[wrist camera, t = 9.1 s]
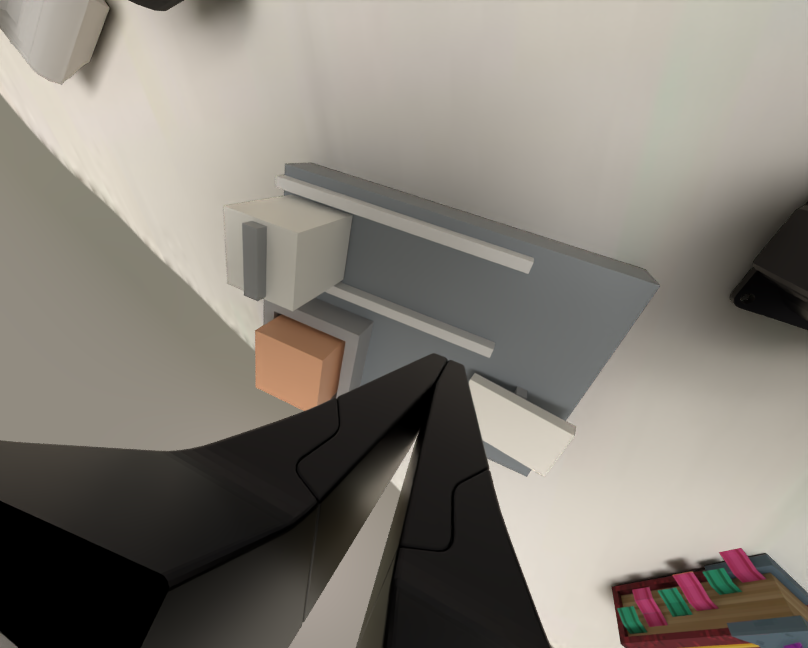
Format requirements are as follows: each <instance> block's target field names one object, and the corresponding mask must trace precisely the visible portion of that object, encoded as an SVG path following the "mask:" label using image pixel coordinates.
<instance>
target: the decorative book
mask: <svg viewBox="0 0 808 648" xmlns="http://www.w3.org/2000/svg"><path fill="white" fill-rule="evenodd" d="M719 553H720V555H721V556H722V558H723V559H724V560H725V562H722V563H717V564H712V565H707V566H704V567H705V569H706V570H701V571H696V572H692V571H691V572H685V573H680V574H674V575H673V576H668V577H663V578H657V579H652V580H646V581H641V582H635V583H630V584H624V585H618V586H613V587H612V592H613V598H614V604H615V611H616V617H617V623H618V629H619V636H620V642H621V644H622V645H623V646H624V647H625V648H808V593H807V592H806V591H805V590H804V589H803V588H802V587H801V586H800V585H799V584H798V583H797V582H796V581H795V580H793V579H792V578H791V577H790V576H789V575H788V574H787V573H786V572H785V571H784V570H783V569H782V568H781V567H780V566H779V565H778V564H777V563H776V562H775V561H774V560H772V559H771V558H770V557H769V556H768V555H767V554H762V555H757V556H752V557H748V556H747V555H746V554H745V552H744V551H743V550H742V548H738V549H734V550H729V551H724V552H719Z"/></svg>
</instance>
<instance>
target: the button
mask: <svg viewBox="0 0 808 648" xmlns="http://www.w3.org/2000/svg"><path fill="white" fill-rule="evenodd" d="M345 343H346V342H345V341H343V340H341V339H338V338H336V337H334V336H331V335H329V334H327V333H324V332H322V331H320V330H317V329H315V328H313V327H310V326H308V325H306V324H303V323H301V322H299V321H297V320H294V319H292V318H290V317H287V316H285V315H283V314H281V315H280V316H278V317H276V318H275V319H273V320H271V321H270V322H268V323H267V324H265V325H263V326H262V327H260V328H258V329H257V330H255V354H256V388H258V389H260V390H262V391H264V392H266V393H268V394H270V395H273V396H275V397H277V398H279V399H281V400H283V401H285V402H287V403H289V404H291V405H293V406H295V407H297V408H299V409H301V410H303V411H306V410H308V409H310V408H313V407H315V406H318V405H320V404H322V403H324V402H327V401H329V400H330V399H331V398H332V397H333V396H334V395H335V393H336V392H337V391H338V385H339V379H340V373H341V367H342V361H343V355H344V349H345Z"/></svg>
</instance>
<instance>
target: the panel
mask: <svg viewBox="0 0 808 648" xmlns="http://www.w3.org/2000/svg"><path fill="white" fill-rule="evenodd" d="M275 187H277V188H279V189H282V190H284V196H286V195H295V196H298V197H301V198H304V199H307V200H310V201H312V202H315V203H318V204H321V205H324V206H327V207H330V208H333V209H336V210H339V211H341V212H344V213H347V214H350V215H353V217H352V224H351V230H350V237H349V244H348V251H347V258H346V265H345V272H344V279H343V280H342V281H340V282H339V283H337V284H336V285H334V286H332V287H331V288H329V289H328V290H326V291H324V292H323V293H321V294H320V295H318V296H317V297H315V298H313V299H312V300H310V301H309V302H307V303H306V304H304V305H302V306H301V307H299V308H298V309H296V310H294V311H291V310H288V309H286V308H284V307H281V306H279V305H276V304H274V303H272V302H269V301H267V300H265V299H264V325H265V324H267V323H268V322H270V321H271V320H273V319H275V318H276V317H278V316H280V315H281V314H283V315H285V316H287V317H290V318H292V319H294V320H297V321H299V322H301V323H303V324H306V325H308V326H310V327H313V328H315V329H317V330H320V331H322V332H324V333H327V334H329V335H331V336H334V337H336V338H338V339H341V340H343V341H345V342H346V343H345V349H344V355H343V361H342V367H341V373H340V379H339V385H338V391H337V392H336V393H335V395H334V396H333V397H332V398H331V399H333V398H337V397H338V396H340V395H342V394H344V393H347V392H349V391H351V390H353V389H355V388H357V387H360V386H362V385H364V384H366V383H368V382H371V381H373V380H375V379H377V378H379V377H381V376H384V375H386V374H388V373H390V372H392V371H394V370H397V369H399V368H401V367H403V366H405V365H408V364H410V363H412V362H414V361H416V360H418V359H421V358H423V357H425V356H427V355H429V354H432V353H436V354H438V355H441V356H443V357H446V358H447V359H448V361H449V360H453V361H455V362H458V363H460V364H463V365H464V367H465V370H466V374H467V379H468V383H469V381H470V379H471V377H472V376H473V375H474V373H476V374H478V375H480V376H482V377H484V378H486V379H487V380H489V381H491V382H493V383H495V384H497V385H499V386H501V387H502V388H504V389H506V390H508V391H510V392H512V393H514V394H516V395H517V396H519V397H521V398H523V399H525V400H527V401H529V402H531V403H532V404H534V405H536V406H538V407H540V408H542V409H544V410H546V411H548V412H549V413H551V414H553V415H555V416H557V417H559V418H561V419H563V420H564V421H566V420H567V418H568V417H569V416H570V414H571V413H572V411H573V410H574V408H575V407H576V406H577V404H578V403H579V401H580V400H581V398H582V397H583V396H584V394H585V393H586V391H587V390H588V388H589V387H590V386H591V384H592V383H593V381H594V380H595V378H596V377H597V376H598V374H599V373H600V371H601V370H602V368H603V367H604V366H605V364H606V363H607V361H608V360H609V358H610V357H611V356H612V354H613V353H614V351H615V350H616V348H617V347H618V346H619V344H620V343H621V341H622V340H623V338H624V337H625V336H626V334H627V333H628V331H629V330H630V328H631V327H632V326H633V324H634V323H635V321H636V320H637V318H638V317H639V316H640V314H641V313H642V311H643V310H644V308H645V307H646V306H647V304H648V303H649V301H650V300H651V298H652V297H653V296H654V294H655V293H656V291H657V290H658V288H659V287H660V285H659V284H658V283H657V281H656V280H655V279H654V278H653V277H652V276H651V275H650V274H649V272H648V271H647V270H646V269H643V268H639V267H636V266H633V265H630V264H627V263H624V262H621V261H617V260H614V259H611V258H608V257H605V256H602V255H599V254H596V253H592V252H589V251H586V250H583V249H580V248H577V247H574V246H570V245H567V244H564V243H561V242H558V241H555V240H552V239H549V238H545V237H542V236H539V235H536V234H533V233H530V232H527V231H523V230H520V229H517V228H514V227H511V226H508V225H505V224H501V223H498V222H495V221H492V220H489V219H486V218H483V217H480V216H476V215H473V214H470V213H467V212H464V211H461V210H458V209H454V208H451V207H448V206H445V205H442V204H439V203H436V202H433V201H429V200H426V199H423V198H420V197H417V196H414V195H411V194H407V193H404V192H401V191H398V190H395V189H392V188H389V187H385V186H382V185H379V184H376V183H373V182H370V181H367V180H364V179H360V178H357V177H354V176H351V175H348V174H345V173H342V172H338V171H335V170H332V169H329V168H326V167H323V166H320V165H316V164H313V163H290V164H285V175H278V176H275ZM331 399H330V400H331ZM483 444H484V448H485V452H486V456H487V458H488V459H490V460H492V461H494V462H496V463H498V464H500V465H503V466H505V467H507V468H509V469H511V470H513V471H516V472H518V473H520V474H522V475H524V476H526V477H527V476H528V474H529V473H530V471H531V470H532V469H530V468H528V467H527V466H525V465H523V464H522V463H520V462H518V461H517V460H515V459H513V458H512V457H510V456H508V455H507V454H505V453H503V452H502V451H500V450H498V449H497V448H495V447H493V446H492V445H490V444H488V443H487V442H485V441H483Z"/></svg>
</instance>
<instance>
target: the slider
mask: <svg viewBox="0 0 808 648" xmlns="http://www.w3.org/2000/svg"><path fill="white" fill-rule="evenodd" d="M223 212H224V230H225V248H226V266H227V284H229V285H232V286H234V287H236V288H239V289H241V290H243V291H244V295H245V296H247V297H249V298H252V299H254V300H256V301H259V300H260V299H265V300H267V301H269V302H272V303H274V304H276V305H279V306H281V307H284V308H286V309H288V310H291V311H294V310H296V309H298V308H299V307H301V306H302V305H304V304H306V303H307V302H309V301H310V300H312V299H313V298H315V297H317V296H318V295H320V294H321V293H323V292H324V291H326V290H328V289H329V288H331V287H332V286H334V285H336V284H337V283H339V282H340V281H342V280H343V279H344V272H345V265H346V258H347V251H348V244H349V237H350V230H351V224H352V217H353V215H350V214H347V213H344V212H341V211H339V210H336V209H333V208H330V207H327V206H324V205H321V204H318V203H315V202H312V201H310V200H307V199H304V198H301V197H298V196H295V195H286V196H279V197H273V198H267V199H261V200H255V201H249V202H243V203H236V204H230V205H224V206H223Z"/></svg>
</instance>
